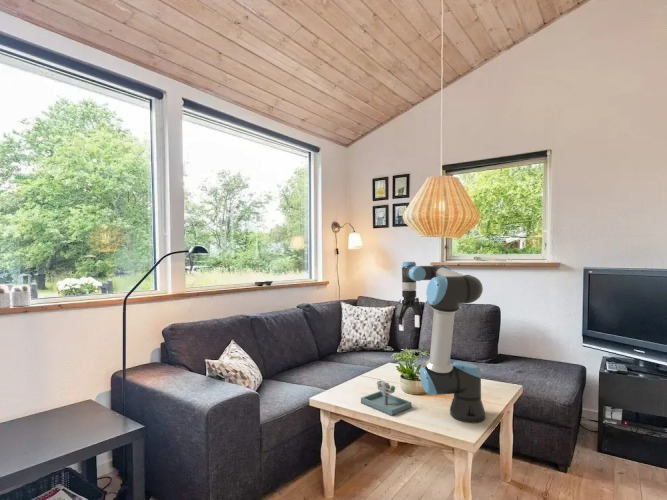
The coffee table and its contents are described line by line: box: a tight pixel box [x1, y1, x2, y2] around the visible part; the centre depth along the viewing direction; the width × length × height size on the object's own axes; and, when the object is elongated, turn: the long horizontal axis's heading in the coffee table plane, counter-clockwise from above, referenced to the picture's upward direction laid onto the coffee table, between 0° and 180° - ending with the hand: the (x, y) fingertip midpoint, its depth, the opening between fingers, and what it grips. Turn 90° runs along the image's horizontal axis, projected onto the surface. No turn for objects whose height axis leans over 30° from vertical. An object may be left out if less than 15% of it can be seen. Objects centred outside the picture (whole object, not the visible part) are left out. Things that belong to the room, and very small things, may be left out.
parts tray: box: [360, 390, 413, 417], centre depth 185 cm, size 20×14×3 cm
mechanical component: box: [376, 380, 396, 405], centre depth 185 cm, size 3×10×10 cm, turn 41°
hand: (409, 328), depth 209 cm, fingers open, 13 cm apart
